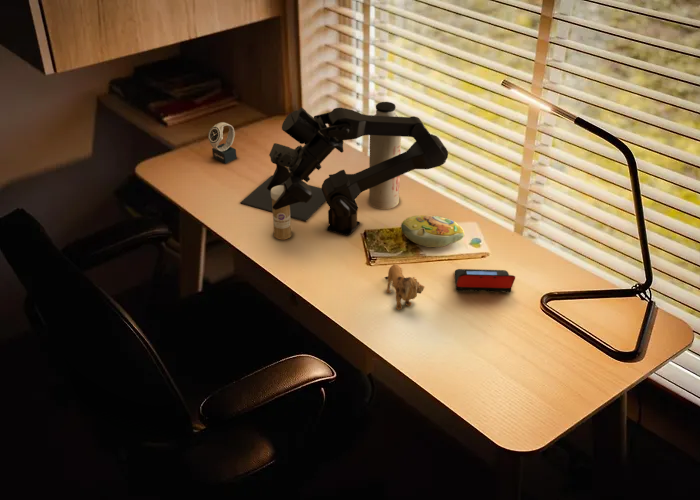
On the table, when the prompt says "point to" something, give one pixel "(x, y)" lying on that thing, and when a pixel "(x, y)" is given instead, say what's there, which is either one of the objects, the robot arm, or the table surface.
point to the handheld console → (483, 280)
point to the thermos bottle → (379, 152)
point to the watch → (224, 150)
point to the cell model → (431, 230)
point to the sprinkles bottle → (280, 216)
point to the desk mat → (297, 210)
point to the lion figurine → (403, 286)
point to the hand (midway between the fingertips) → (270, 198)
